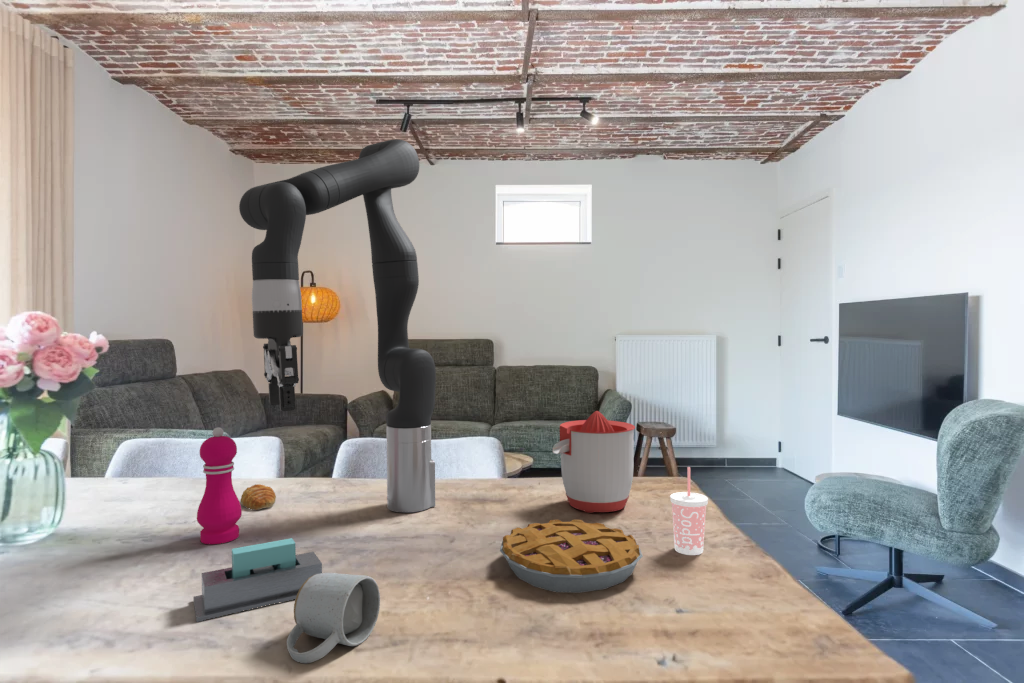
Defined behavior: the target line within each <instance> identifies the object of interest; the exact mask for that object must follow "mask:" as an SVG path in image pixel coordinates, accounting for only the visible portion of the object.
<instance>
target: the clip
mask: <svg viewBox="0 0 1024 683" xmlns="http://www.w3.org/2000/svg"><path fill="white" fill-rule="evenodd" d="M296 546H297V545H296V542H295V540H294V539H293V538H292V537H291V538H285V539H280V540H274V541H269V542H264V543H258V544H257V543H256V544H251V545H247V546H246V545H245V546H241V547H234V548H231V567H232V578H237V577H242V576H247V575H250V570H251V569H256V568H261V567H266V566H271V565H276V564H278V569H282V568H287V567H292V566H296V565H295V561H296V555H297V553H296V552H297V551H296V550H297V549H296Z"/></svg>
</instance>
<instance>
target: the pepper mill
mask: <svg viewBox="0 0 1024 683" xmlns="http://www.w3.org/2000/svg"><path fill="white" fill-rule="evenodd" d="M224 433H225V432H224V429H223V428H222V427H220V426H219V427H214V429H213V430H212V435H213V436H210V437H209V438H207V439H205V440H204V441H203V442H201V443H202V444H201V445H200V448H199V457H200V459H201V460H202V461H203V462H204V464H203V465H202V468H203V470H202V473H204V474H205V487H204V488H205V489H204V493H203V495H202V499H201V500H200V503H199V505H198V509H197V511H196V521H197V524H199V525H200V526H201V527H202V529H201V530H200V532H199V534H200V535H199V536H200V537H199V538H200V542H201V543H202V544H205V545H220V544H221V543H222V544H225V543H229V542H232V541H235V540H236V539H238V538H239V537H240V526H239V525H238V524H237V522H238V521H239V520H240V519H241V517H242V513H243V512H242V504H241V501H240V500H239V497H238V495H237V494H236V491H235V489H234V486H233V480H232V473H233V471H234V470H235V467H234V465H235V462H234V461H233V459H235V457H236V455H237V453H238V448H237V444H236V441H235V440H234V439H233V438H231V437H229V436H226V435H224Z"/></svg>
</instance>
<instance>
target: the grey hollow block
mask: <svg viewBox="0 0 1024 683" xmlns="http://www.w3.org/2000/svg"><path fill="white" fill-rule="evenodd" d="M295 565H296V566H292V567H287V568H282V569H278V564H276V565H271V566H266V567H261V568H256V569H251V570H250V575H247V576H242V577H237V578H232V566H231V567H227V568H226V567H225V568H222V569H216V570H211V571H206V572H201V594H200V595H194V596H192V597H193V599H192V600H193V606H194V607H193V608H194V613H195V615H194V616H195V621H196V623H199V622H200V623H201V622H204V621H207V620H206V619H209V620H211V619H210V618H213V619H216V618H215V617H217V618H220V617H219V616H222V615H226V616H228V615H227V614H231V613H235V614H237V613H236V612H239V613H241V612H240V611H243V610H248V611H250V610H249V609H252V608H257V607H261V606H265V605H269V604H274V603H279V602H283V603H285V602H284V601H288V602H290V601H289V600H292V601H294V600H293V599H296V596H297V594H298V592H299V589H300V588H301V586H302V585H303V583H304V582H305V581H306V580H307V579H308V578H310V577H311V576H313V575H316V574H320V573H323V562H322V561H321V560H320V559H319V557H318V556H317V554H316V553H315V552H314V551H309V552H305V553H299V554H296V561H295ZM279 604H280V603H279ZM274 605H275V604H274ZM261 608H262V607H261ZM257 609H258V608H257ZM252 610H253V609H252ZM231 615H232V614H231ZM222 617H223V616H222ZM203 620H204V621H203Z"/></svg>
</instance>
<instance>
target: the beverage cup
mask: <svg viewBox="0 0 1024 683" xmlns="http://www.w3.org/2000/svg"><path fill="white" fill-rule="evenodd" d="M686 468H687V475H686V476H687V491H681V492H680V491H679V492H674V493H671V494H670V495H669V499H670V500H669V501H670V502H671V511H672V526H673V527H672V529H673V542H674V550H675V551H676V552H677V553H679V554H682V555H686V556H696V555H697V556H699V555H701V554H703V553H704V545H705V543H704V542H705V530H706V529H705V528H706V513H707V505H708V504H709V503H708V502H709V498H708V497H707V496H706V495H705V494H702V493H697V492H691V467H690V466H687V467H686Z"/></svg>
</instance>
